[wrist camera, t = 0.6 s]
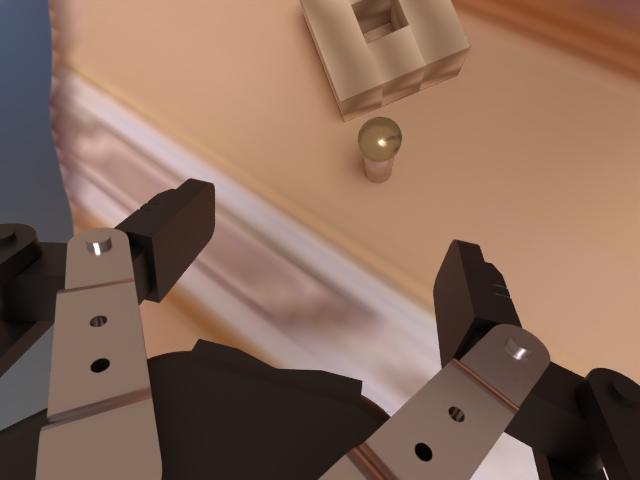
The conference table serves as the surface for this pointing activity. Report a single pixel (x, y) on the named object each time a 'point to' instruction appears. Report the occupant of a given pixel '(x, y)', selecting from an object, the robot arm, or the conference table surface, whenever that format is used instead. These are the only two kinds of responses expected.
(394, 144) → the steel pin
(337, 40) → the maple hitch block
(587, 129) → the conference table surface
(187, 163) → the conference table surface
